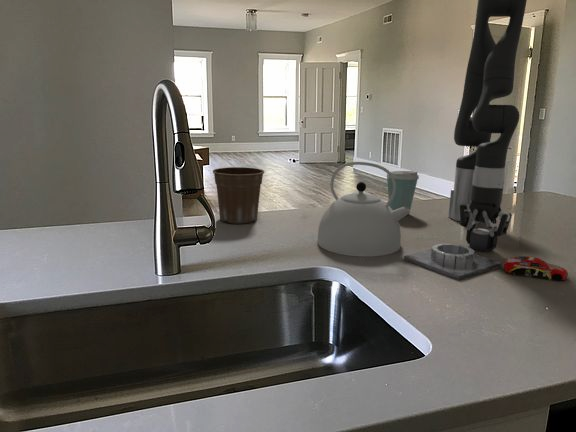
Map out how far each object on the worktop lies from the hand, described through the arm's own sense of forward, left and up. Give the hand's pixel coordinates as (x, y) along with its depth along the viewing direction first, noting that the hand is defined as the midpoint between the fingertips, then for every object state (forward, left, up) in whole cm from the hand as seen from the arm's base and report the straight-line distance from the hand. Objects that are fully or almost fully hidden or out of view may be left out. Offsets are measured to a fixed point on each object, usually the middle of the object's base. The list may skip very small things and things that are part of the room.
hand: (480, 246), depth 126 cm
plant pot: (-61, -40, -1) cm, 73 cm away
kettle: (-21, -23, -1) cm, 31 cm away
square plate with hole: (+3, -16, -1) cm, 16 cm away
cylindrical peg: (0, 0, -1) cm, 1 cm away
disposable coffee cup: (-39, +11, -1) cm, 41 cm away
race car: (+18, -6, -1) cm, 19 cm away
